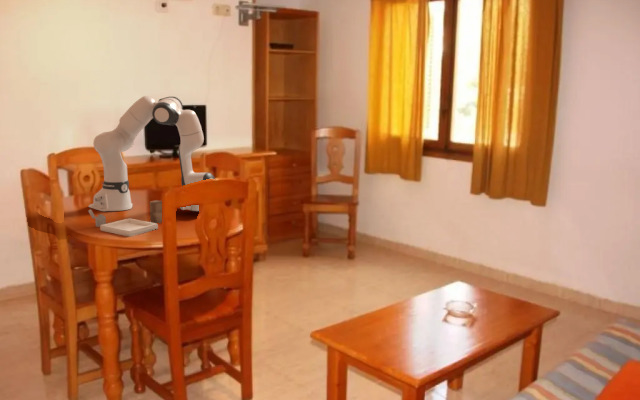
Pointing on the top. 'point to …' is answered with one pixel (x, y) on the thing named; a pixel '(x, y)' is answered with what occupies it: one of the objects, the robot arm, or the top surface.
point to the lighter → (98, 218)
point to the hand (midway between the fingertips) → (174, 206)
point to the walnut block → (156, 211)
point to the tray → (129, 227)
